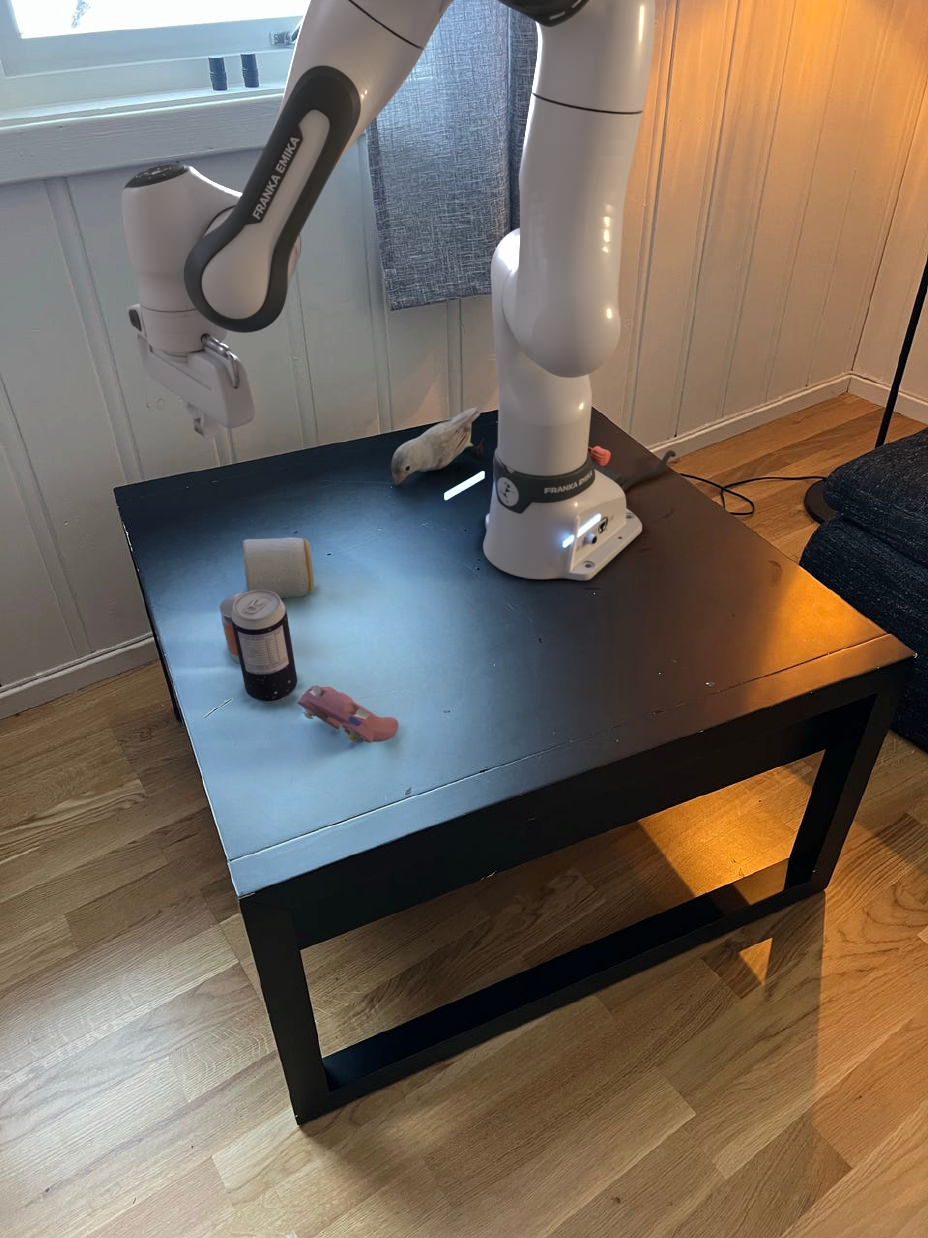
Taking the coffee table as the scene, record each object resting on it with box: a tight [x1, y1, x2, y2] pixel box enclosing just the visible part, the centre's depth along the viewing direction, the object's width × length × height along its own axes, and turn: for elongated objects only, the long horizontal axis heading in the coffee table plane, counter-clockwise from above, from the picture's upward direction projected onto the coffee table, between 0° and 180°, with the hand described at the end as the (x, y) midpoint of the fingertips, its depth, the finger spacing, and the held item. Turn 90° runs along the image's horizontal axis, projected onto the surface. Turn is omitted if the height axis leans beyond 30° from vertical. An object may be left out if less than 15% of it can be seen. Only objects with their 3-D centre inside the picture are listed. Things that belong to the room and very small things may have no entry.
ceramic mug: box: [242, 536, 315, 600], centre depth 115 cm, size 11×8×8 cm
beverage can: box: [231, 590, 298, 704], centre depth 99 cm, size 6×6×12 cm
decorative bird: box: [390, 406, 484, 486], centre depth 138 cm, size 5×16×8 cm, turn 130°
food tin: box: [219, 592, 245, 666], centre depth 105 cm, size 5×5×7 cm
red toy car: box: [297, 685, 400, 744], centre depth 96 cm, size 10×5×7 cm, turn 56°
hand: (206, 433), depth 114 cm, fingers closed
